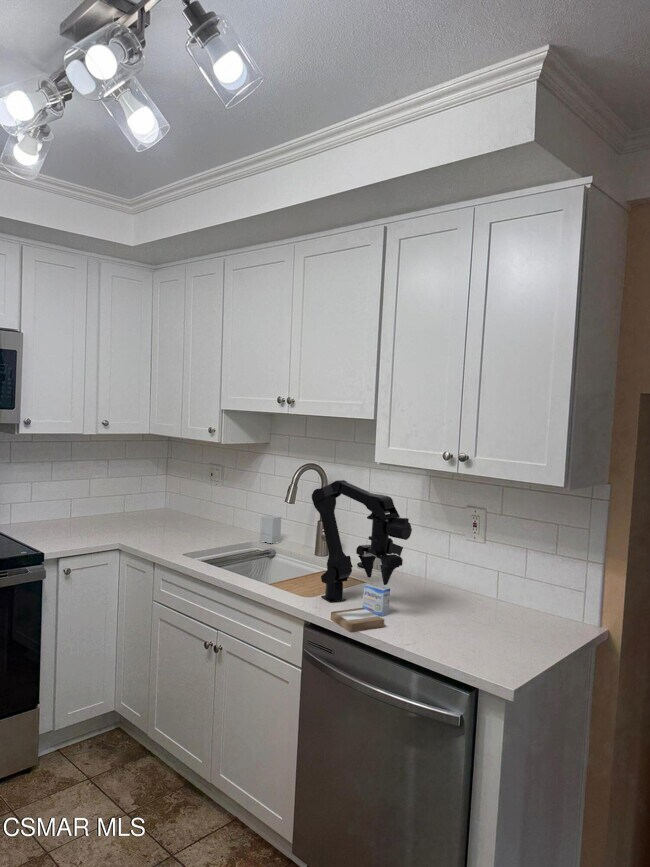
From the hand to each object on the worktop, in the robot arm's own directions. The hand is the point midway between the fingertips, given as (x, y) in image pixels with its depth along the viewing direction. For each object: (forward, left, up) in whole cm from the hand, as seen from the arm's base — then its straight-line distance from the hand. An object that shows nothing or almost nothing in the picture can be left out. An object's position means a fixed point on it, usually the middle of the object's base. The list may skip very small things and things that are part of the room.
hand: (377, 581), depth 209 cm
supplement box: (-106, +12, -11) cm, 107 cm away
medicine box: (0, 0, -11) cm, 11 cm away
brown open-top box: (+7, -12, -10) cm, 17 cm away
